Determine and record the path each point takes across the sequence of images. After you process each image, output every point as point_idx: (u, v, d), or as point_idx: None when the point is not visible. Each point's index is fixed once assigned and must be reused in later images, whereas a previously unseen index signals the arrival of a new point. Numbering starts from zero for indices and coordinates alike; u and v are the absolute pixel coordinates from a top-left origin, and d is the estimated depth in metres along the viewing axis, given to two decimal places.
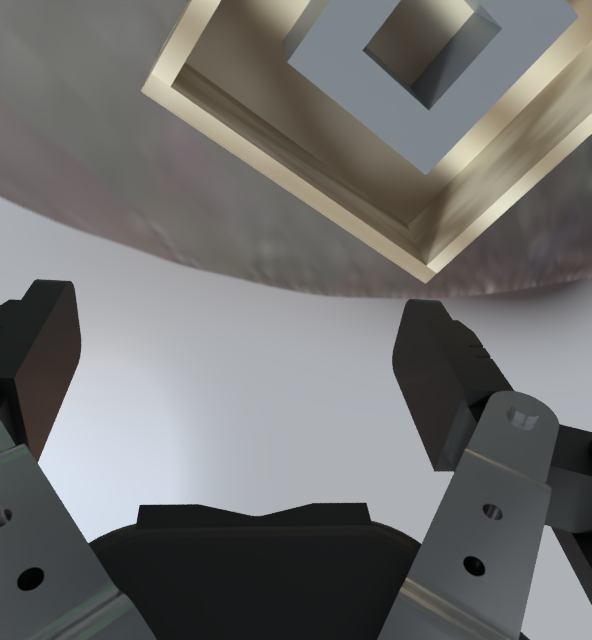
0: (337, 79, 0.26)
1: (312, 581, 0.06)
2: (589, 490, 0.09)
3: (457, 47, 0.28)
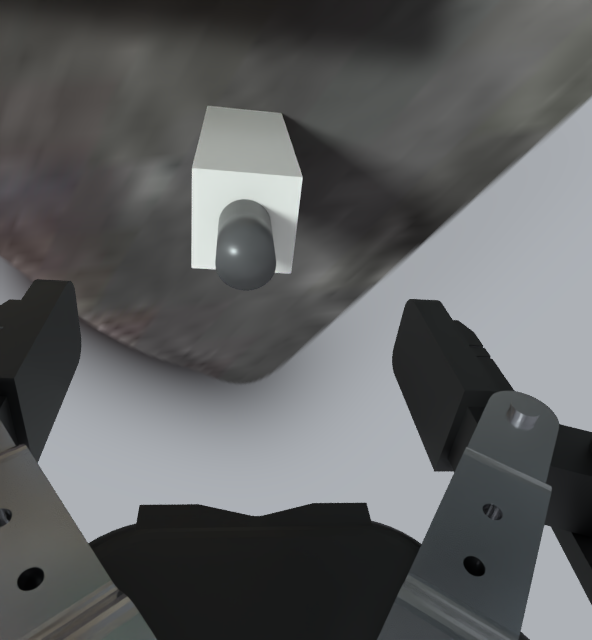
0: None
1: (312, 581, 0.06)
2: (589, 490, 0.09)
3: None
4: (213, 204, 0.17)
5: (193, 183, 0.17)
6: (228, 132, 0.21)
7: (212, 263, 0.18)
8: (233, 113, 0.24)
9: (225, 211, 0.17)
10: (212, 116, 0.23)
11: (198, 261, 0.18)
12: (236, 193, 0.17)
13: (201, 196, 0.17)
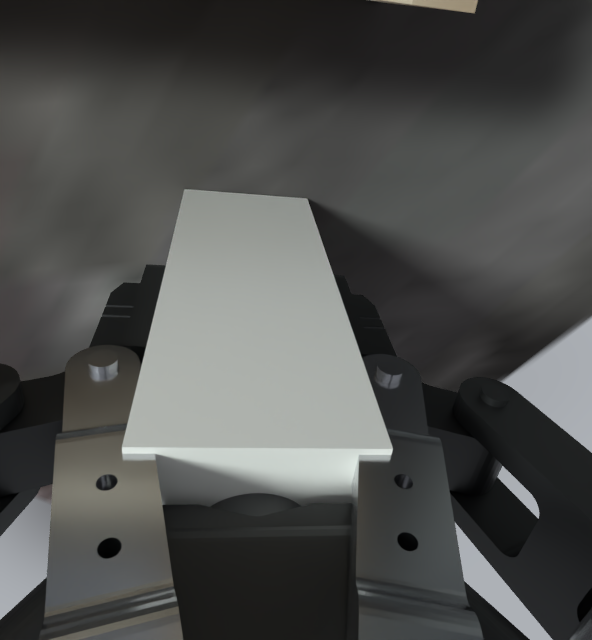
0: None
1: (312, 581, 0.06)
2: (447, 445, 0.09)
3: None
4: None
5: None
6: (217, 268, 0.11)
7: None
8: (227, 206, 0.14)
9: None
10: (190, 219, 0.13)
11: None
12: (233, 484, 0.07)
13: None
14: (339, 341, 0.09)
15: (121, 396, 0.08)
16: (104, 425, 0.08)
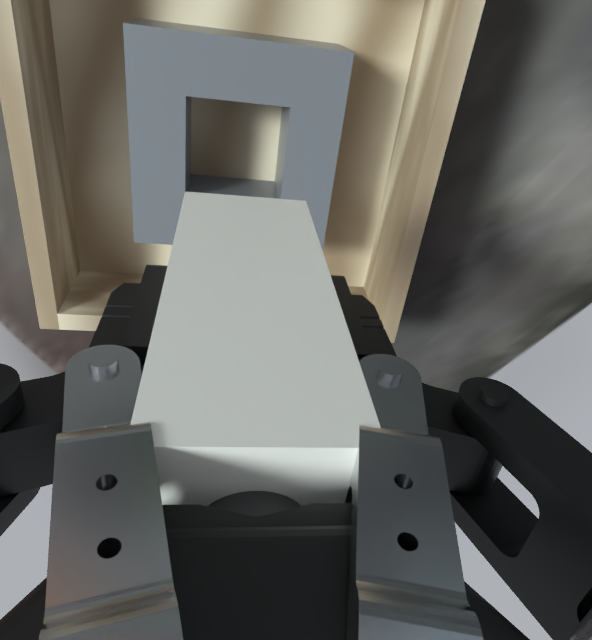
0: (146, 89, 0.23)
1: (312, 581, 0.06)
2: (447, 445, 0.09)
3: (244, 186, 0.29)
4: (180, 503, 0.08)
5: None
6: (217, 271, 0.11)
7: None
8: (227, 209, 0.14)
9: None
10: (191, 221, 0.13)
11: None
12: (233, 482, 0.07)
13: None
14: (336, 343, 0.09)
15: (121, 396, 0.08)
16: (104, 425, 0.08)
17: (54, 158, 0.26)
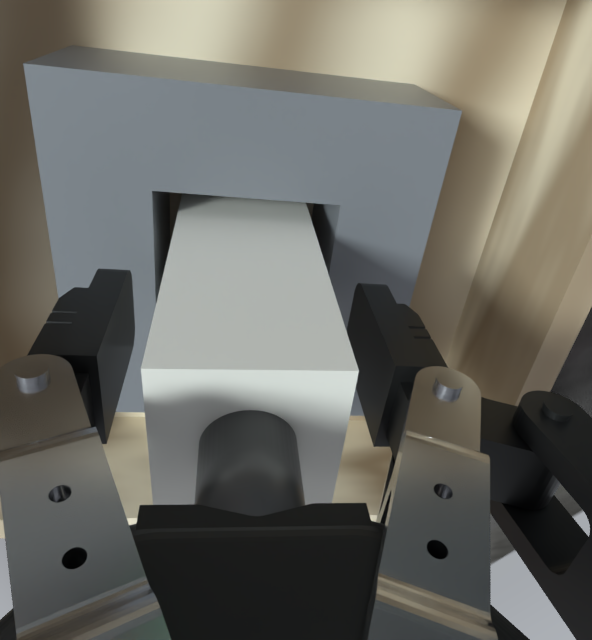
0: (78, 181, 0.13)
1: (312, 581, 0.06)
2: (508, 459, 0.09)
3: None
4: (187, 421, 0.09)
5: (146, 391, 0.09)
6: (217, 237, 0.13)
7: (191, 502, 0.10)
8: None
9: (210, 442, 0.09)
10: (193, 197, 0.15)
11: (165, 501, 0.10)
12: (231, 401, 0.09)
13: (163, 411, 0.09)
14: (320, 293, 0.11)
15: (46, 409, 0.08)
16: (44, 437, 0.07)
17: None
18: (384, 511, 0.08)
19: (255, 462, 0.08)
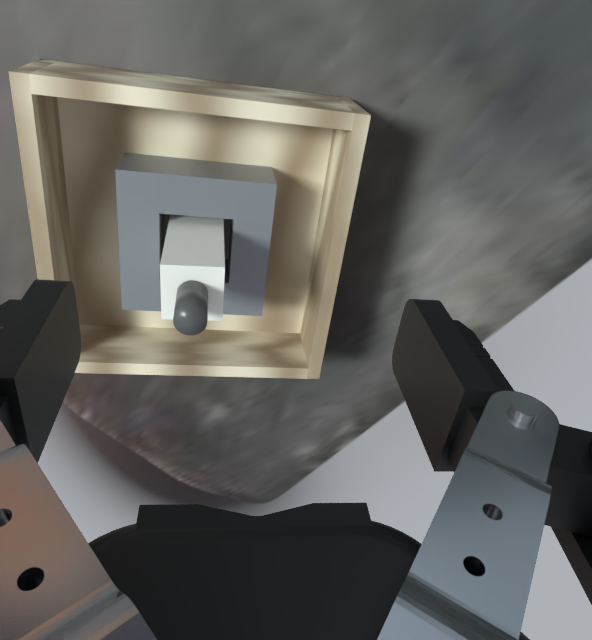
0: (131, 209, 0.33)
1: (312, 581, 0.06)
2: (589, 490, 0.09)
3: None
4: (173, 283, 0.30)
5: (160, 272, 0.29)
6: (184, 230, 0.33)
7: (174, 316, 0.31)
8: None
9: (180, 288, 0.29)
10: None
11: (165, 315, 0.31)
12: (186, 276, 0.29)
13: (165, 279, 0.29)
14: (219, 248, 0.32)
15: None
16: None
17: (63, 250, 0.36)
18: None
19: (192, 290, 0.29)
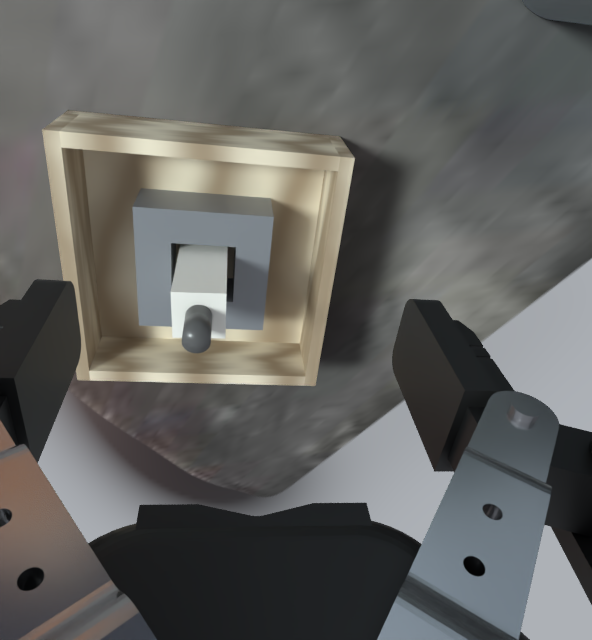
0: (146, 240, 0.38)
1: (312, 581, 0.06)
2: (589, 490, 0.09)
3: None
4: (182, 307, 0.34)
5: (171, 298, 0.34)
6: (192, 257, 0.38)
7: None
8: None
9: (187, 311, 0.34)
10: None
11: (175, 334, 0.35)
12: (193, 301, 0.34)
13: (175, 304, 0.34)
14: (222, 275, 0.36)
15: None
16: None
17: (88, 273, 0.41)
18: None
19: (198, 314, 0.33)
